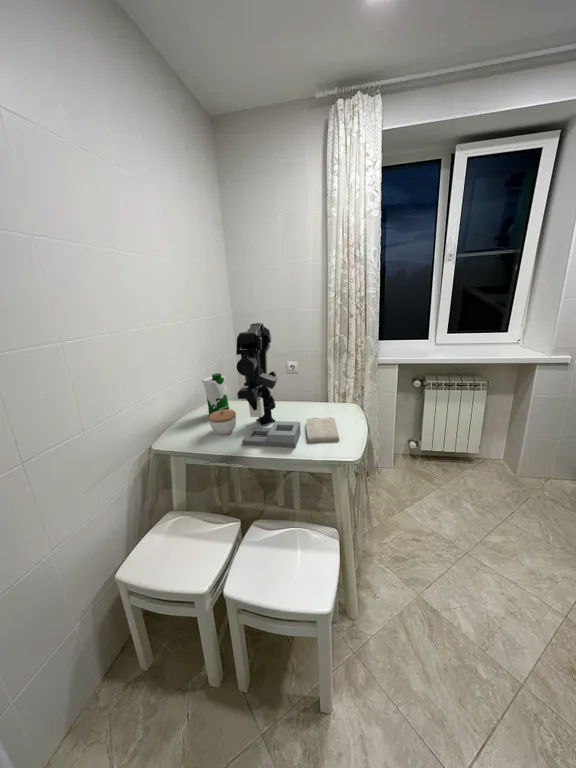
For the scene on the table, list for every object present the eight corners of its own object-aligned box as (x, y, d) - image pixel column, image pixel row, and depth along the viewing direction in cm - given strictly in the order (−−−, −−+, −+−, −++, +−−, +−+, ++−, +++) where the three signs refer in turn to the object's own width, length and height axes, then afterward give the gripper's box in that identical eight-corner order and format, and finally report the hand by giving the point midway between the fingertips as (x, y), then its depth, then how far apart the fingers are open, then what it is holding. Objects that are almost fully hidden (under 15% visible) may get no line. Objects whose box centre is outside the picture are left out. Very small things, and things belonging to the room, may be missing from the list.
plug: (250, 416, 109) (248, 398, 107) (253, 413, 112) (250, 395, 110) (262, 417, 108) (260, 398, 106) (264, 413, 111) (262, 395, 109)
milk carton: (218, 420, 132) (212, 377, 126) (205, 416, 138) (198, 375, 131) (233, 413, 139) (227, 372, 133) (220, 409, 144) (214, 370, 138)
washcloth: (333, 421, 124) (333, 414, 123) (340, 442, 107) (340, 435, 106) (305, 423, 124) (305, 416, 123) (307, 444, 107) (307, 437, 106)
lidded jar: (236, 436, 116) (233, 414, 113) (209, 439, 116) (205, 417, 113) (239, 424, 126) (236, 404, 123) (214, 427, 126) (210, 407, 123)
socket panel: (242, 445, 109) (241, 433, 107) (252, 431, 119) (250, 420, 118) (295, 447, 104) (294, 435, 103) (300, 433, 115) (299, 421, 113)
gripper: (266, 375, 94) (271, 419, 99) (280, 360, 111) (283, 399, 116) (234, 375, 96) (239, 418, 101) (252, 361, 114) (256, 399, 118)
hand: (256, 408), depth 109 cm, fingers closed on plug, 3 cm apart
